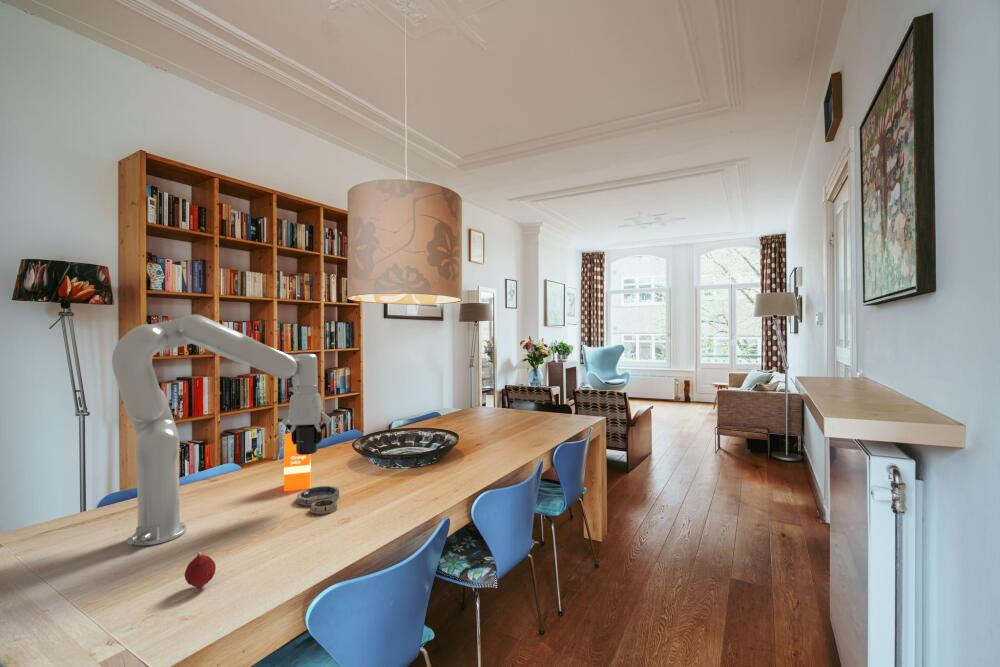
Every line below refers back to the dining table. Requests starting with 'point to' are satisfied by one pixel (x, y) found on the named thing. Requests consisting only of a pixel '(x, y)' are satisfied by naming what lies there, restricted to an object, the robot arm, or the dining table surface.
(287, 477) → the orange juice
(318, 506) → the narrow flange
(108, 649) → the dining table surface
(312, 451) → the supplement bottle
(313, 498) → the wide flange
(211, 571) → the onion
